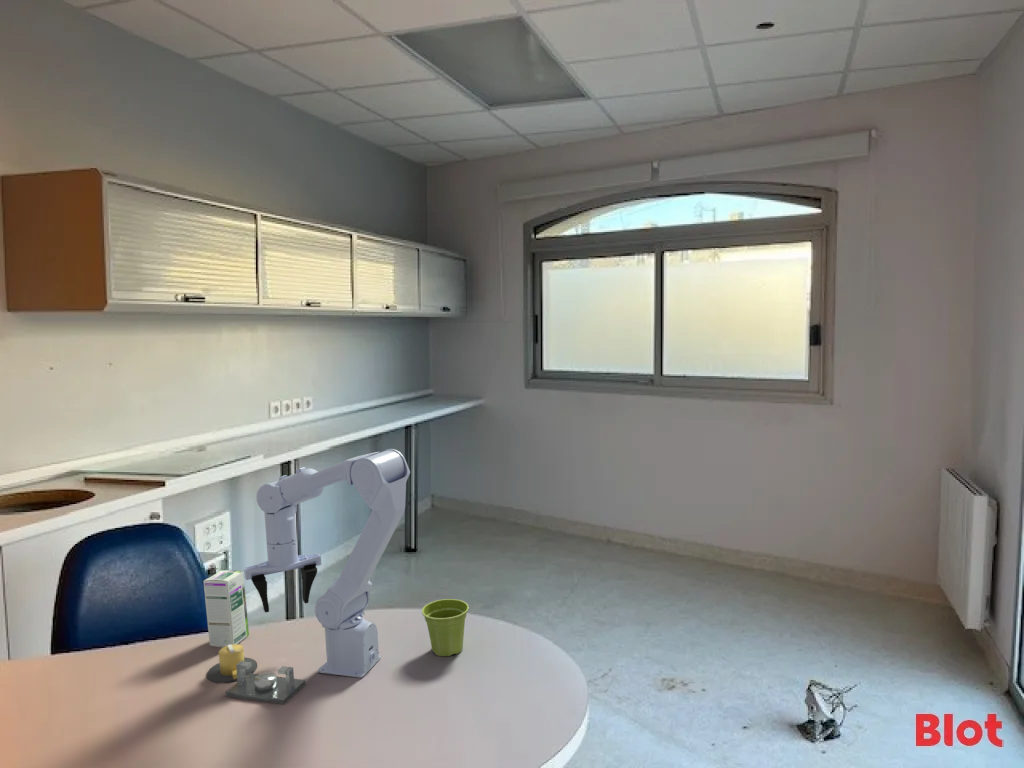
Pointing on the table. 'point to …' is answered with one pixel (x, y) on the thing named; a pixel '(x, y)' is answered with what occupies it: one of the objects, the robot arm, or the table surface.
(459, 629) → the plant pot
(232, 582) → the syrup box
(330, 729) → the table surface
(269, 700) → the grey plate with posts
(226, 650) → the cap
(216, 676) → the mat
